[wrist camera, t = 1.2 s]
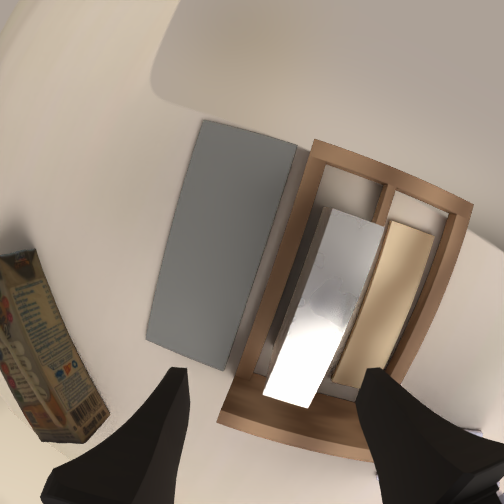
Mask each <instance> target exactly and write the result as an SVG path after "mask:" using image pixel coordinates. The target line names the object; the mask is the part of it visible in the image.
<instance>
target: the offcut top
mask: <svg viewBox="0 0 504 504" xmlns="http://www.w3.org/2000/svg"><path fill="white" fill-rule="evenodd" d="M434 237H435V236H433V235H430V234H427V233H425V232H422V231H419V230H416V229H414V228H411V227H408V226H405V225H403V224H400V223H397V222H394V221H391V220H390V222H389V225H388V229H387V232H386V235H385V239H384V242H383V245H382V248H381V251H380V254H379V258H378V261H377V264H376V267H375V270H374V272H373V275H372V278H371V281H370V284H369V287H368V290H367V292H366V295H365V298H364V300H363V303H362V306H361V308H360V311H359V314H358V316H357V319H356V321H355V324H354V326H353V329H352V331H351V334H350V336H349V339H348V341H347V344H346V346H345V348H344V351H343V353H342V356H341V358H340V360H339V362H338V365H337V367H336V369H335V371H334V374H333V376H332V378H331V379H332V382H334V383H338V384H342V385H347V386H351V387H355V388H360V387H361V384H362V382H363V379H364V376H365V372H366V369H367V368H376V367H380V368H382V369H384V367H385V365H386V363H387V361H388V358H389V356H390V354H391V352H392V350H393V348H394V345H395V343H396V341H397V339H398V336H399V334H400V332H401V329H402V327H403V324H404V322H405V320H406V317H407V315H408V312H409V310H410V307H411V305H412V302H413V299H414V297H415V294H416V291H417V289H418V286H419V283H420V280H421V277H422V275H423V272H424V269H425V266H426V263H427V260H428V257H429V254H430V250H431V247H432V244H433V241H434Z"/></svg>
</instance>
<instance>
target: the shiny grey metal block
mask: <svg viewBox="0 0 504 504" xmlns="http://www.w3.org/2000/svg"><path fill="white" fill-rule="evenodd" d="M384 229H385V227H383V226H380V225H378V224H375V223H372V222H370V221H367V220H364V219H361V218H359V217H356V216H353V215H351V214H348V213H345V212H342V211H339V210H337V209H334V208H328V207H323V210H322V213H321V216H320V219H319V222H318V225H317V228H316V231H315V234H314V237H313V239H312V242H311V245H310V248H309V251H308V254H307V257H306V260H305V263H304V265H303V268H302V271H301V274H300V277H299V279H298V282H297V285H296V288H295V290H294V293H293V296H292V299H291V301H290V304H289V307H288V309H287V312H286V315H285V317H284V320H283V323H282V325H281V328H280V331H279V333H278V336H277V338H276V341H275V343H274V346H273V351H272V355H271V360H270V364H269V369H268V373H267V377H266V382H265V386H264V390H263V395H266V396H269V397H272V398H275V399H278V400H282V401H285V402H288V403H292V404H295V405H298V406H302V407H305V408H308V407H309V405H310V403H311V401H312V399H313V397H314V395H315V393H316V391H317V389H318V387H319V385H320V383H321V381H322V379H323V377H324V375H325V373H326V371H327V369H328V367H329V365H330V363H331V360H332V358H333V356H334V354H335V352H336V350H337V347H338V345H339V343H340V341H341V339H342V336H343V334H344V332H345V330H346V327H347V325H348V323H349V320H350V318H351V316H352V313H353V311H354V308H355V306H356V304H357V301H358V299H359V296H360V294H361V291H362V289H363V286H364V284H365V281H366V278H367V276H368V273H369V271H370V268H371V265H372V263H373V260H374V257H375V254H376V252H377V249H378V246H379V243H380V240H381V237H382V234H383V232H384Z"/></svg>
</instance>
